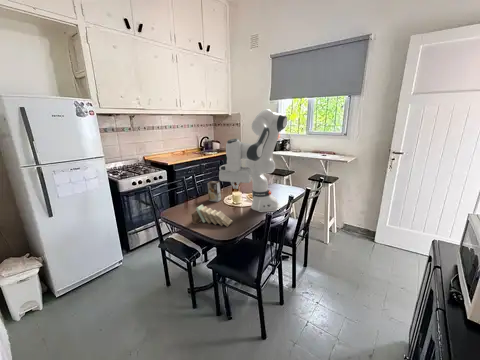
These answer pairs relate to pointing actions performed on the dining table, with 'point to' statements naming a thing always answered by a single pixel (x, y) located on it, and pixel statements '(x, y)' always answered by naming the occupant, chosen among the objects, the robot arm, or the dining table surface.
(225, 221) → the maple domino
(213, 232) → the dining table surface
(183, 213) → the dining table surface
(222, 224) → the maple domino
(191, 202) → the dining table surface
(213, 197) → the coffee box
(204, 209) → the maple domino
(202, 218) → the sage domino
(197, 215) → the end stop
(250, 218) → the dining table surface
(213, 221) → the maple domino
